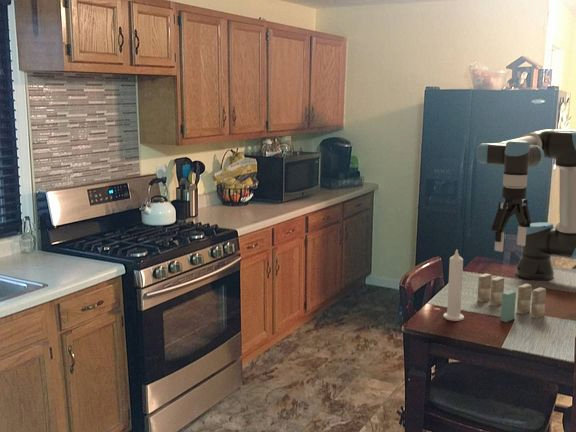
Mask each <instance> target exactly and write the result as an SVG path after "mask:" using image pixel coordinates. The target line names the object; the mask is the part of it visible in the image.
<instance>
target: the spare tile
mask: <svg viewBox="0 0 576 432" xmlns="http://www.w3.org/2000/svg"><path fill="white" fill-rule="evenodd" d="M516 299H517V292H516V290H515V291H514V290H511V289H510V290H507V291H504V292H503V293H502V304H500V305H501V307H500V321H502V322H504V323H508V322H510V321H512V320H514V319H515V315H516V314H515V310H516Z"/></svg>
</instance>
